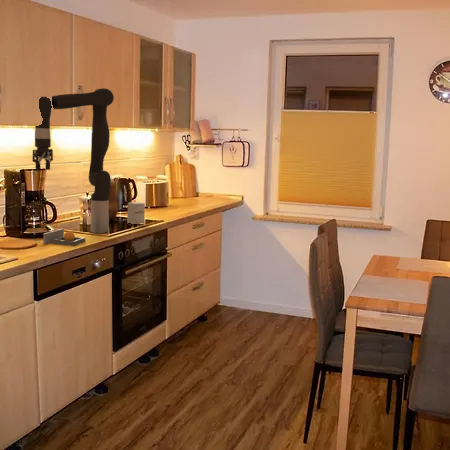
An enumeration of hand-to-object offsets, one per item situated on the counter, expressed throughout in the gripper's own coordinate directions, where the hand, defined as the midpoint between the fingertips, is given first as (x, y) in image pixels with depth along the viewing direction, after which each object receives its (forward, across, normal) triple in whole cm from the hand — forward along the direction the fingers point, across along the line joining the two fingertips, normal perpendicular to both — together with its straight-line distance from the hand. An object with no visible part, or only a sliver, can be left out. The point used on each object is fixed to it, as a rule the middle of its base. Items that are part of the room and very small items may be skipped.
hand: (43, 170), depth 301 cm
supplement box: (+33, -55, +26) cm, 69 cm away
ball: (+30, +11, +22) cm, 39 cm away
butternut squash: (+33, -57, +6) cm, 66 cm away
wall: (+33, +11, +13) cm, 37 cm away
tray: (+33, +11, +22) cm, 41 cm away
